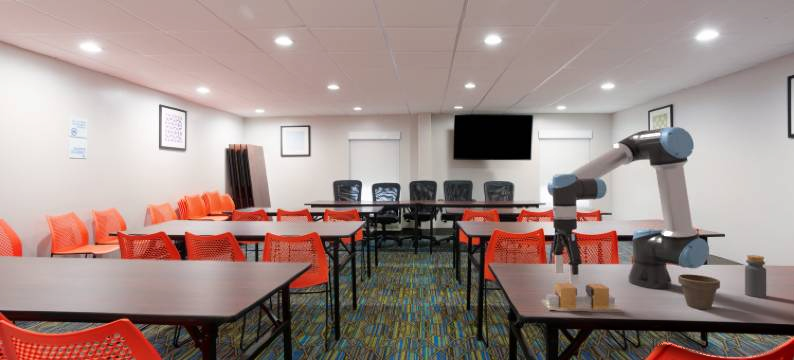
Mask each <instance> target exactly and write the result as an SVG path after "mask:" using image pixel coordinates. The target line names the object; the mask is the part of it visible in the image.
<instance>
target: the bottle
mask: <svg viewBox="0 0 794 360" xmlns="http://www.w3.org/2000/svg"><path fill="white" fill-rule="evenodd" d="M746 258H747V259H746V264H748V265H745V266H744V293H745V294H744V295H746V296H748V297H752V298H753V297H754V298H761V299H765V298H767V268H766V267H764V265H766V261H764V259H765V257H764V256H762V255H758V254H756V255H755V254H746Z"/></svg>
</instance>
